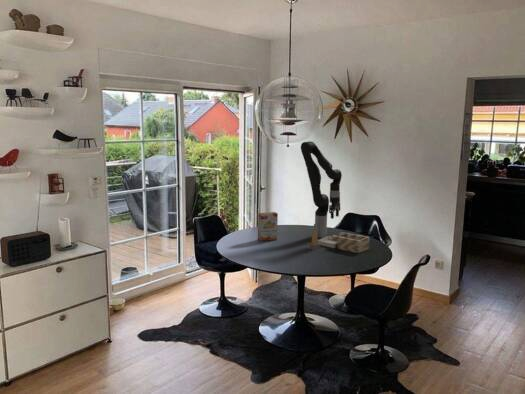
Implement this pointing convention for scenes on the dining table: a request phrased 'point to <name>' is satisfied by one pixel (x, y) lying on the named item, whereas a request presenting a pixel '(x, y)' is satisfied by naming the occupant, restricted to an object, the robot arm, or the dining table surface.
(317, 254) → the dining table surface
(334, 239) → the channel block
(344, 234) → the chip
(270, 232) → the cracker box
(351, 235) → the chip
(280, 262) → the dining table surface
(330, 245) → the chip tray
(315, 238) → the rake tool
